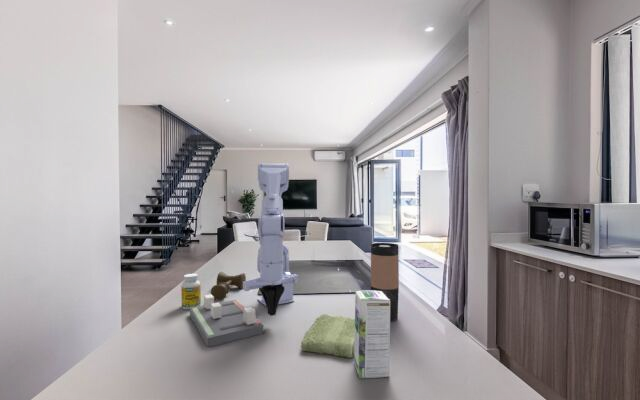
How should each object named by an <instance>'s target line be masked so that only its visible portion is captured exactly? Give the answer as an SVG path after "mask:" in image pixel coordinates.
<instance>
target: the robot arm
mask: <svg viewBox="0 0 640 400" xmlns="http://www.w3.org/2000/svg"><path fill="white" fill-rule="evenodd" d="M257 181H258V187H259V190H260V191H262V192H263V193H265V195H264V196H263V197H262V200H261V209H260V210H261V211H260V213H261V214H260V216H259V217H258V223H257V225H258V228H257V229H258V232H257V233H258V237H259V239H258V240H259V245H260V247H259V248H258V250H257V262H256V263H257V272H258V273H259V274H260V276H259V277H258V278H253V279H249V280H246V281H244V282H243V289H242V290H243V291H244V292H249V291H251V290H256V289H259V291H260V294H261V297H257V299H256V300H257V301H258V302H260V303H261V304H263V306H265V308H266V311H267V314H268V315H269V316H270V317H272V316H276V315H277V314H276V313H277V309H278V305H283V304H287V303H292V302H295V299H294V284H297V283H299V275H298V274H296V273H293V274H292V273H291V272H290V254H289V248H288V246H287V245H285V244H284V238H283V237H284V236H285V217H284V216H285V215H284V211H283V210H284V205H283V204H284V201H283V198H282V194H283V193H284V192H286V191H288V188H289V182H290V166H289V163H262V162H259V163H258V165H257Z"/></svg>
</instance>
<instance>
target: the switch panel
mask: <svg viewBox="0 0 640 400" xmlns="http://www.w3.org/2000/svg"><path fill="white" fill-rule="evenodd" d="M219 303H220V304H221V306H222V317H221V318H216V319H213V318H212V316H211V309H206V308H205V307H204V304H203V305H200V306H198V307H192V308H190V309H189V316H190V318H191V319H192V322H193V323H194V325H195V327H196V329H197V330H198V332H199V334H200V336H201V338H202V340H203V341H204V343H205V345H206V347H207V348H211V347H213V346H219V345H221V344H225V343H230V342H234V341H238V340H243V339H246V338H249V337H250V338H251V337H253V336H258V335H262V334H264V324H263V323H262V322H261V321H260V320H259V319H257V318H256V317H255V323H253V324H249V325H247V324H246V323H245V322H244V321H243V309H244V308H245V306H243V305H242V304H241V303H240V302H239V300H237V299H233V300H227V301H221V302H219Z"/></svg>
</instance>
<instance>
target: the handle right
mask: <svg viewBox="0 0 640 400" xmlns="http://www.w3.org/2000/svg"><path fill="white" fill-rule="evenodd" d="M212 303H215V299H214V297H213V296H212V294H211V293H210V294H205V295H203V305H204V307H205V308H206V309H211V304H212Z"/></svg>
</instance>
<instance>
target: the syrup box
mask: <svg viewBox="0 0 640 400" xmlns="http://www.w3.org/2000/svg"><path fill="white" fill-rule="evenodd" d="M354 295H355V297H354V299H355V300H354V301H355V304H354V305H355V306H354V307H355V309H354V319H355V336H354V357H353V359H354V361H353V362H354V366H355V369H356V373H357V375H358V377H359V378H360V379H377V378H379V379H380V378H389V377H390V362H391V361H390V356H391V355H390V353H391V350H390V348H391V346H390V345H391V341H390V339H391V337H390V336H391V321H390V299H388V298H387V296H386V295H385V294H384V293H383V292H382V291H375V290H371V289H370V290H369V289H368V290H366V289H365V290H364V289H362V290H356V291H355V294H354Z"/></svg>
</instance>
